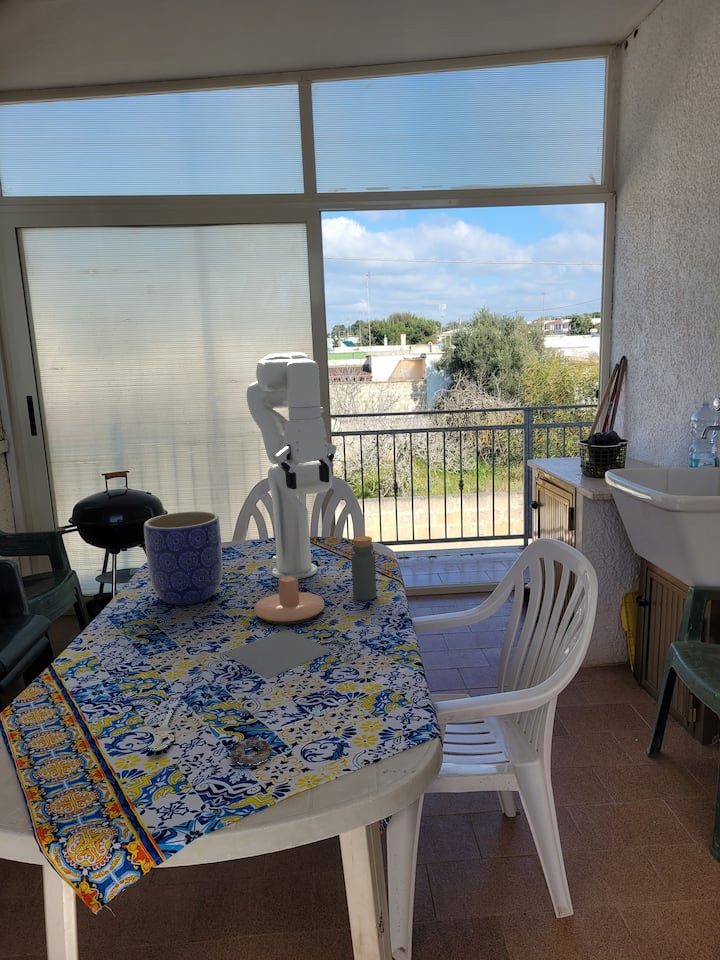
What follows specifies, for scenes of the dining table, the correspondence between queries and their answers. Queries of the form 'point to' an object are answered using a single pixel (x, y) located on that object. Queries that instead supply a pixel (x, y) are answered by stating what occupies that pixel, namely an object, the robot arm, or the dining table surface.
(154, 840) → the dining table surface
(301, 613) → the lid
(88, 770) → the dining table surface
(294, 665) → the mat
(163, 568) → the planter
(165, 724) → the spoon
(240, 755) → the donut
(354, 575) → the bottle
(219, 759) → the dining table surface
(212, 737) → the dining table surface
